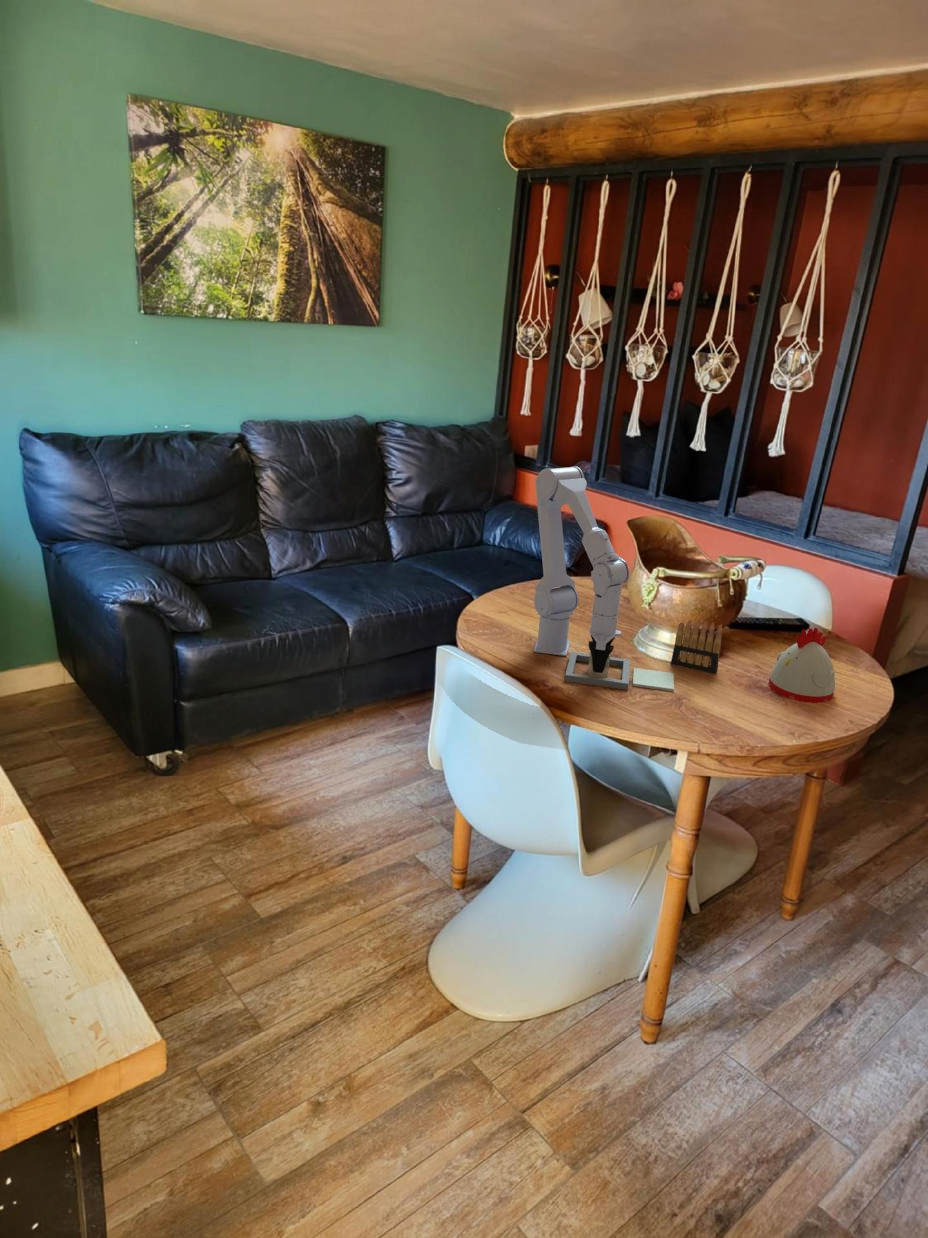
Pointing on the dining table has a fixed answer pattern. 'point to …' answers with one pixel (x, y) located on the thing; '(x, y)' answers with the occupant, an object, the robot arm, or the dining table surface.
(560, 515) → the robot arm
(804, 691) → the kitchen timer
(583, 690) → the dining table surface
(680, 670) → the dining table surface
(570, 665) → the frame
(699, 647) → the ammunition clip
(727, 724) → the dining table surface
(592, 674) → the maple block
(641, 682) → the green pad
